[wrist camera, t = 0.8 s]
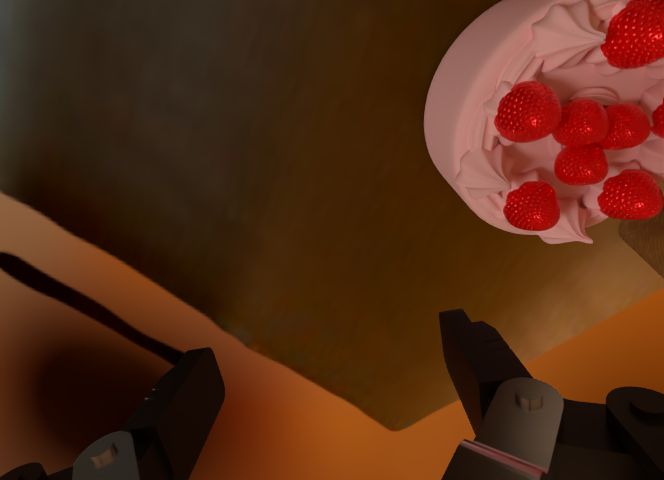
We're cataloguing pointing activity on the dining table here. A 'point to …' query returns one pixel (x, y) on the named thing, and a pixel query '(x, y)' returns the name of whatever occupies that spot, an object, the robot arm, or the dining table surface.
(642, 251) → the disposable coffee cup
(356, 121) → the dining table surface
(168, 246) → the dining table surface
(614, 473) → the robot arm
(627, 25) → the cake
